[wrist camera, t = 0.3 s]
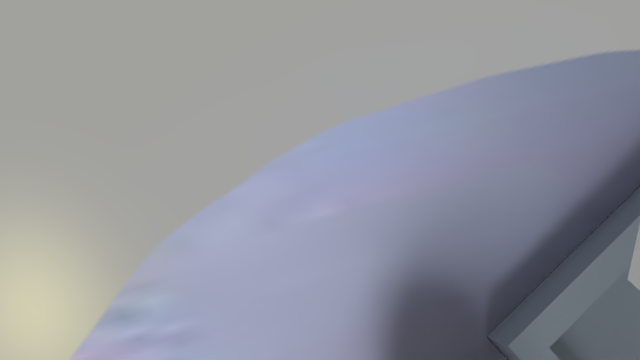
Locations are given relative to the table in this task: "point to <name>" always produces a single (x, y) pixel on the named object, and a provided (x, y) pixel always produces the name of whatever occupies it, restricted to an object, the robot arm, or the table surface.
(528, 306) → the tray
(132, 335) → the table surface
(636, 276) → the robot arm
